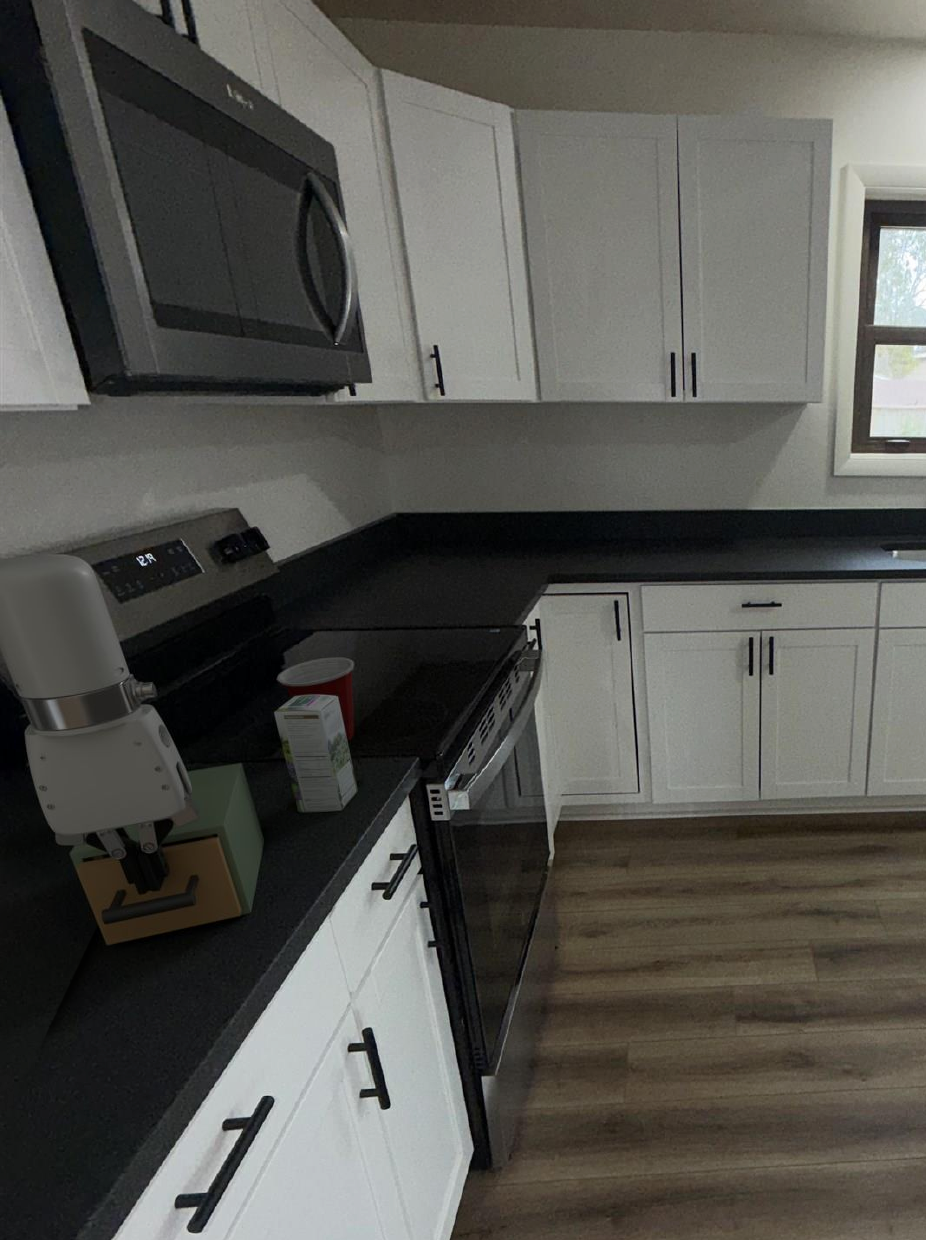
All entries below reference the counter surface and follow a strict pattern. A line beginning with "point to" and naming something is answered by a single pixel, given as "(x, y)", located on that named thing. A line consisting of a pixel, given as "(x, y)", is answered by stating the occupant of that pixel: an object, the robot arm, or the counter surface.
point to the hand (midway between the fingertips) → (152, 885)
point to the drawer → (162, 892)
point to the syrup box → (316, 752)
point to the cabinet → (216, 826)
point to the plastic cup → (323, 683)
